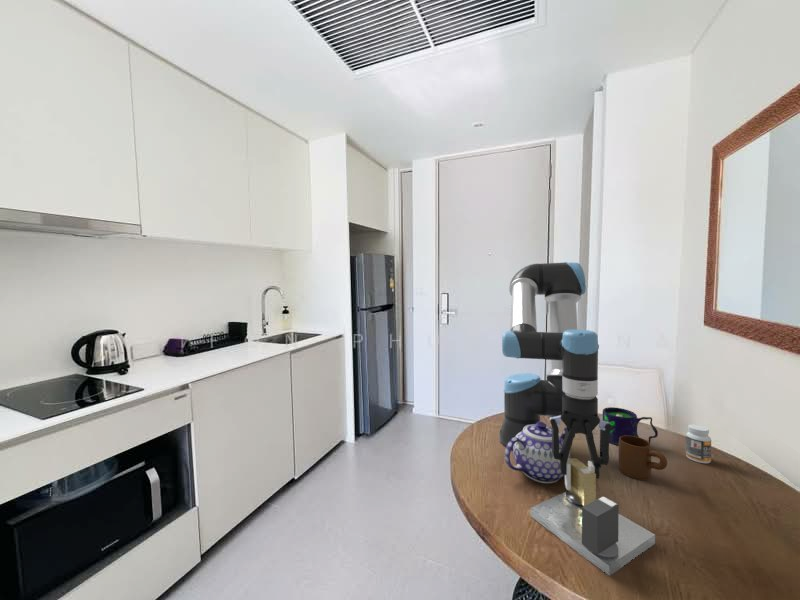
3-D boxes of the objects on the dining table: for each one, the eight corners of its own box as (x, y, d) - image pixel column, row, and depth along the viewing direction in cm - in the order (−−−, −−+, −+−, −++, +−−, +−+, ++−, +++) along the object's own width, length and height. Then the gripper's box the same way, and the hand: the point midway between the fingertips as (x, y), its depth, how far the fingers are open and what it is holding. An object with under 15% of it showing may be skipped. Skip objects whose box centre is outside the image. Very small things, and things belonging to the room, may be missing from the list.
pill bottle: (709, 466, 95) (710, 433, 95) (684, 459, 100) (684, 427, 99) (711, 459, 99) (712, 427, 99) (687, 452, 103) (687, 422, 103)
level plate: (530, 516, 76) (530, 505, 76) (574, 495, 83) (574, 485, 83) (609, 576, 60) (609, 562, 60) (654, 543, 67) (655, 531, 67)
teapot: (523, 499, 82) (522, 441, 82) (488, 467, 97) (487, 418, 96) (597, 478, 90) (597, 426, 90) (554, 452, 105) (554, 407, 104)
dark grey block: (604, 563, 60) (605, 520, 60) (574, 541, 65) (574, 502, 65) (626, 549, 63) (626, 508, 63) (595, 528, 69) (596, 491, 68)
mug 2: (675, 485, 86) (676, 451, 86) (657, 493, 84) (657, 457, 83) (629, 463, 98) (629, 433, 97) (612, 469, 95) (612, 437, 94)
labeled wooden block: (559, 490, 82) (559, 458, 81) (581, 488, 83) (581, 456, 82) (578, 509, 75) (578, 474, 75) (601, 506, 76) (601, 472, 75)
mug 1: (599, 441, 112) (600, 413, 111) (605, 431, 119) (605, 405, 119) (656, 456, 102) (656, 424, 101) (658, 444, 109) (658, 415, 109)
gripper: (542, 396, 77) (542, 492, 78) (627, 402, 72) (626, 504, 73) (538, 387, 84) (538, 474, 85) (615, 391, 79) (614, 484, 80)
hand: (579, 488), depth 79 cm, fingers closed on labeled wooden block, 4 cm apart
